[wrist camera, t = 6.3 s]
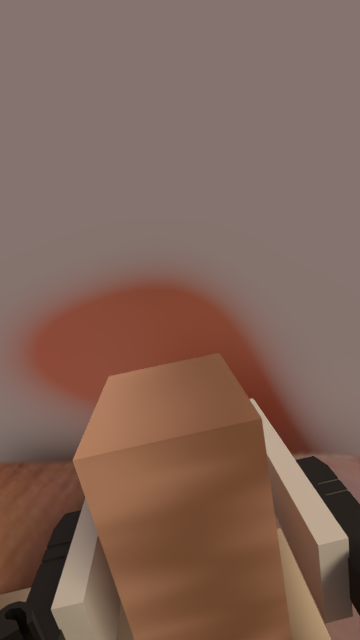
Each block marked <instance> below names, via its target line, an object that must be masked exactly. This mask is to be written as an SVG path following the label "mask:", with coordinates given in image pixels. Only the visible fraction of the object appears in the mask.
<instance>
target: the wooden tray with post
mask: <svg viewBox="0 0 360 640" xmlns="http://www.w3.org/2000/svg"><path fill="white" fill-rule="evenodd" d="M73 463H74V466H75V469H76V472H77V474H78V477H79V480H80V483H81V486H82V489H83V492H84V495H85V498H86V501H87V504H88V506H89V509H90V512H91V515H92V518H93V521H94V524H95V527H96V530H97V533H98V536H99V538H100V541H101V544H102V547H103V550H104V553H105V556H106V559H107V562H108V565H109V568H110V570H111V573H112V576H113V579H114V582H115V585H116V588H117V591H118V594H119V597H120V599H121V604H120V613H119V622H118V631H117V640H331V638H330V636H329V634H328V631H327V629H326V627H325V625H324V623H323V621H322V618H321V616H320V614H319V612H318V610H317V607H316V605H315V603H314V601H313V599H312V596H311V594H310V592H309V590H308V588H307V585H306V583H305V581H304V579H303V577H302V574H301V572H300V570H299V568H298V566H297V563H296V561H295V559H294V557H293V555H292V552H291V550H290V548H289V546H288V544H287V541H286V539H285V537H284V535H283V533H282V530H281V528H279V529H277V526H276V519H275V512H274V504H273V497H272V490H271V482H270V475H269V467H268V460H267V453H266V445H265V438H264V431H263V423H262V418H261V416H260V415H259V413H258V412H257V410H256V409H255V407H254V406H253V404H252V402H251V401H250V399H249V398H248V396H247V395H246V393H245V392H244V390H243V389H242V387H241V386H240V384H239V383H238V381H237V379H236V378H235V377H234V375H233V373H232V372H231V370H230V369H229V367H228V366H227V364H226V363H225V361H224V360H223V358H222V357H221V355H220V353H216V354H212V355H207V356H202V357H198V358H193V359H188V360H183V361H179V362H174V363H169V364H165V365H160V366H155V367H151V368H146V369H141V370H137V371H132V372H127V373H122V374H118V375H114V376H109V377H108V380H107V382H106V385H105V387H104V389H103V391H102V394H101V396H100V398H99V401H98V403H97V405H96V407H95V410H94V412H93V415H92V417H91V419H90V421H89V424H88V426H87V428H86V431H85V433H84V435H83V437H82V440H81V442H80V445H79V447H78V449H77V451H76V454H75V456H74V458H73ZM30 590H31V588H27V589H22V590H18V591H14V592H10V593H6V594H1V595H0V610H1V609H2V608H4V607H5V606H6V605H8V604H11V603H14V602H17V601H22V602H26V600H27V597H28V595H29V592H30Z"/></svg>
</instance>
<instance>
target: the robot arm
mask: <svg viewBox="0 0 360 640" xmlns="http://www.w3.org/2000/svg"><path fill="white" fill-rule="evenodd" d="M250 401H251V402H252V404H253V406H254V407H255V409H256V410H257V412H258V413H259V415H260V416H261V418H262V423H263V431H264V438H265V445H266V453H267V460H268V467H269V475H270V482H271V490H272V497H273V504H274V512H275V515H276V517H277V519H278V521H279V524H280V526H281V528H282V530H283V532H284V535H285V537H286V539H287V541H288V543H289V545H290V548H291V550H292V552H293V554H294V556H295V559H296V561H297V563H298V565H299V567H300V569H301V572H302V574H303V576H304V578H305V580H306V583H307V585H308V587H309V589H310V591H311V593H312V596H313V598H314V600H315V602H316V604H317V606H318V609H319V611H320V613H321V615H322V617H323V620H324V622H325V623H328V622H332V621H336V620H340V619H344V618H348V617H352V616H353V613H352V603H353V605H354V607H355V608H356V610H357V612H358V614H359V615H360V504H359V503H358V502H357V500H356V499H355V498H354V497H353V496H352V494H351V493H350V492H349V491H347V488H346V487H345V486H344V485H343V483H342V482H341V481H339V480H338V477H337V476H336V475H335V474H334V473H333V471H332V470H331V469H330V468H329V466H328V465H326V464H325V463H323V462H322V461H320V460H319V459H317V458H316V457H314V456H312V457H307V458H303V459H299V460H295V459H294V458H293V456H292V455H291V453H290V452H289V450H288V449H287V448H286V446H285V445H284V443H283V442H282V440H281V439H280V437H279V436H278V434H277V433H276V431H275V430H274V428H273V427H272V425H271V424H270V423H269V421H268V420H267V418H266V417H265V415H264V414H263V412H262V411H261V410H260V408H259V407H258V405H257V404H256V402H255V401H254V400H253V399H250ZM120 604H121V599H120V597H119V594H118V591H117V588H116V585H115V582H114V579H113V576H112V573H111V570H110V568H109V565H108V562H107V559H106V556H105V553H104V550H103V547H102V544H101V541H100V538H99V536H98V533H97V530H96V527H95V524H94V521H93V518H92V515H91V512H90V509H89V506H88V504H87V501H86V498H85V501H84V504H83V507H82V510H80V511H76V512H72V513H67V514H65V515H64V516H63V518H62V519H61V520H60V522H59V523H58V525H57V526H56V527H55V529H54V531H53V533H52V536H51V538H50V541H49V544H48V546H47V550H46V551H45V554H44V556H43V559H42V564H41V565H40V567H39V569H38V572H37V574H36V577H35V579H34V582H33V585H32V587H31V590H30V592H29V595H28V597H27V600H26V602H22V601H17V602H14V603H11V604H8V605H6V606H5V607H4V608H2V609H1V610H0V640H117V631H118V622H119V613H120Z"/></svg>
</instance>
